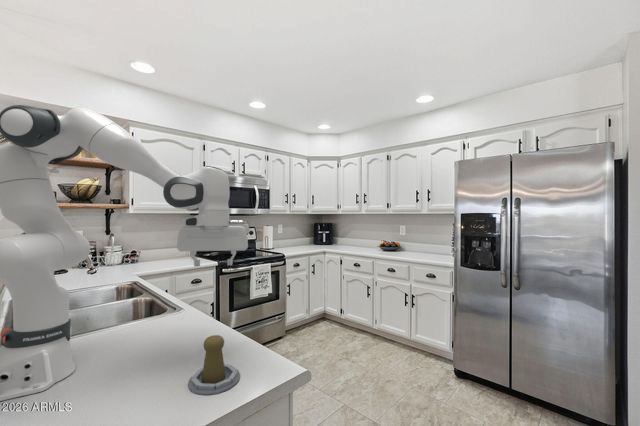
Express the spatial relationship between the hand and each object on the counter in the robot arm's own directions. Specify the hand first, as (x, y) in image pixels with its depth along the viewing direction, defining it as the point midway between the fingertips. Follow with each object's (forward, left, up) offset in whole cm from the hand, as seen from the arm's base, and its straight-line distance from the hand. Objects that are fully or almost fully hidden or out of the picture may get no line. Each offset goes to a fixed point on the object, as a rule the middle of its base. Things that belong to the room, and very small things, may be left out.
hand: (213, 265), depth 90 cm
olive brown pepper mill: (-4, -11, -28) cm, 31 cm away
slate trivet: (-4, -11, -29) cm, 31 cm away
